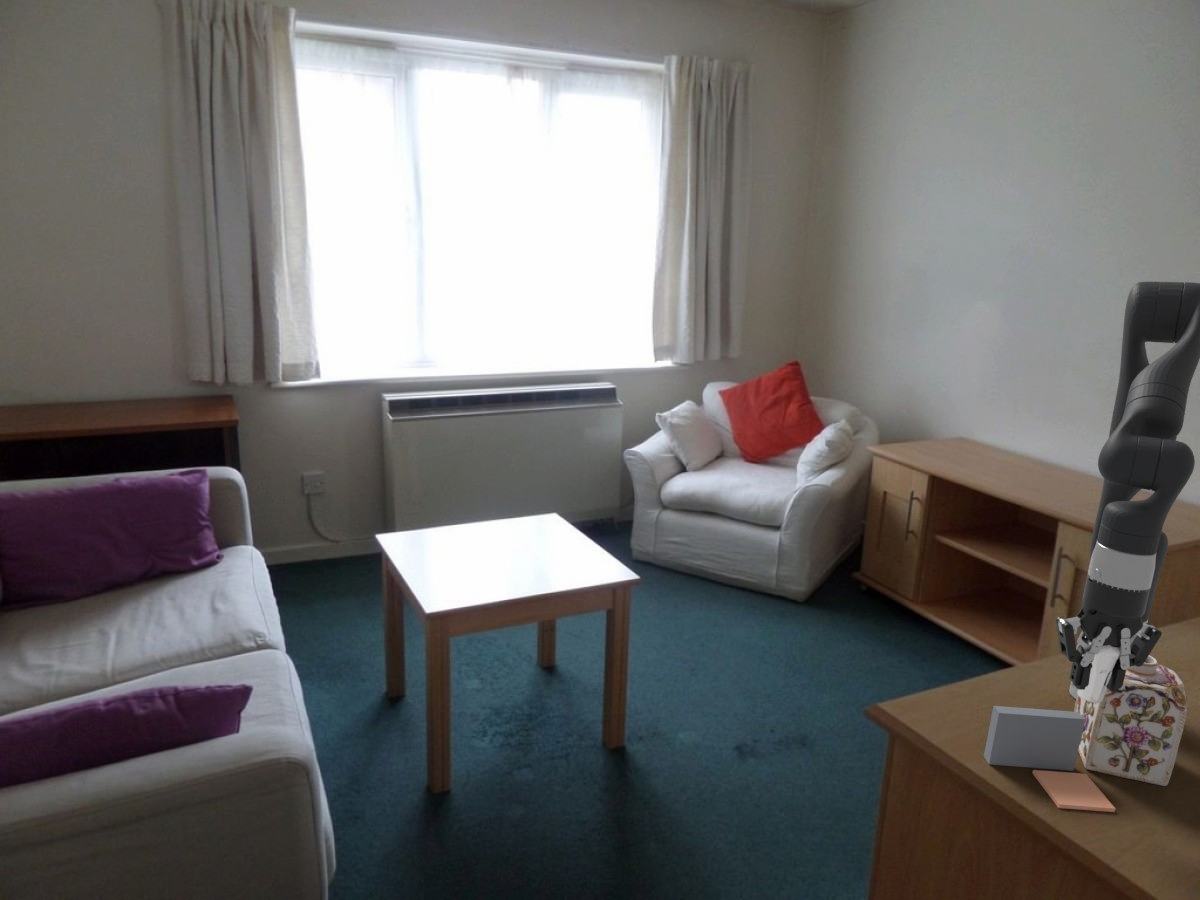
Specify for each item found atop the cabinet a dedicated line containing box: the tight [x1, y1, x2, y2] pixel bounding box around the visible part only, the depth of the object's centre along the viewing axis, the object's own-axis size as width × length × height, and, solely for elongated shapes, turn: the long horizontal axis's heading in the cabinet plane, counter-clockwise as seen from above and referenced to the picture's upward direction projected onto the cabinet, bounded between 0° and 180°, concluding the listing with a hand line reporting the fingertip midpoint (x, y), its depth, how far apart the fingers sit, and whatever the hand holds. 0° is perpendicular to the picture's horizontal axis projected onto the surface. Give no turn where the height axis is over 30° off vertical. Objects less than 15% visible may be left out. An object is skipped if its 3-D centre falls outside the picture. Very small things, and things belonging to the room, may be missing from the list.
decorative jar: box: [1073, 654, 1189, 787], centre depth 129 cm, size 12×12×18 cm
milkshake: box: [1077, 639, 1120, 703], centre depth 118 cm, size 4×5×10 cm
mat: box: [1032, 769, 1116, 813], centre depth 122 cm, size 8×8×1 cm
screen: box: [983, 705, 1085, 772], centre depth 128 cm, size 13×2×9 cm, turn 88°
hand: (1094, 687), depth 118 cm, fingers closed on milkshake, 4 cm apart
